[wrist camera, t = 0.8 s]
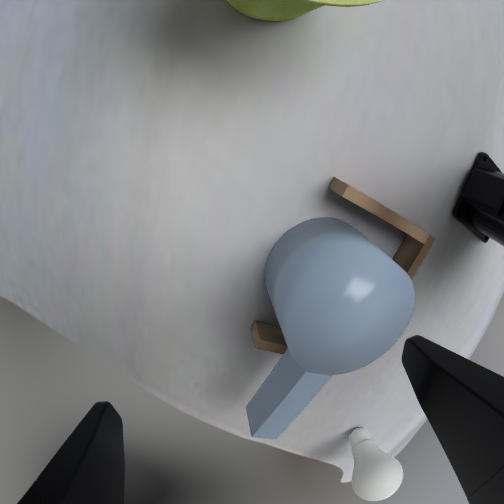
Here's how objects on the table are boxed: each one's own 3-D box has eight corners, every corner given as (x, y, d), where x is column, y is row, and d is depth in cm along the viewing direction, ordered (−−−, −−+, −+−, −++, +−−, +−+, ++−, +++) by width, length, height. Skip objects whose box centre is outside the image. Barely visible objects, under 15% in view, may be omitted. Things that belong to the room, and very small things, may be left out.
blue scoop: (298, 198, 20) (338, 236, 14) (385, 242, 22) (436, 284, 16) (207, 368, 25) (213, 431, 19) (289, 384, 27) (307, 440, 21)
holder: (419, 227, 22) (435, 238, 20) (339, 350, 26) (348, 367, 24) (333, 176, 19) (348, 184, 17) (250, 328, 24) (255, 347, 22)
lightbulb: (356, 412, 32) (391, 487, 22) (385, 417, 34) (419, 481, 24) (323, 440, 33) (350, 512, 24) (354, 443, 36) (381, 505, 26)
